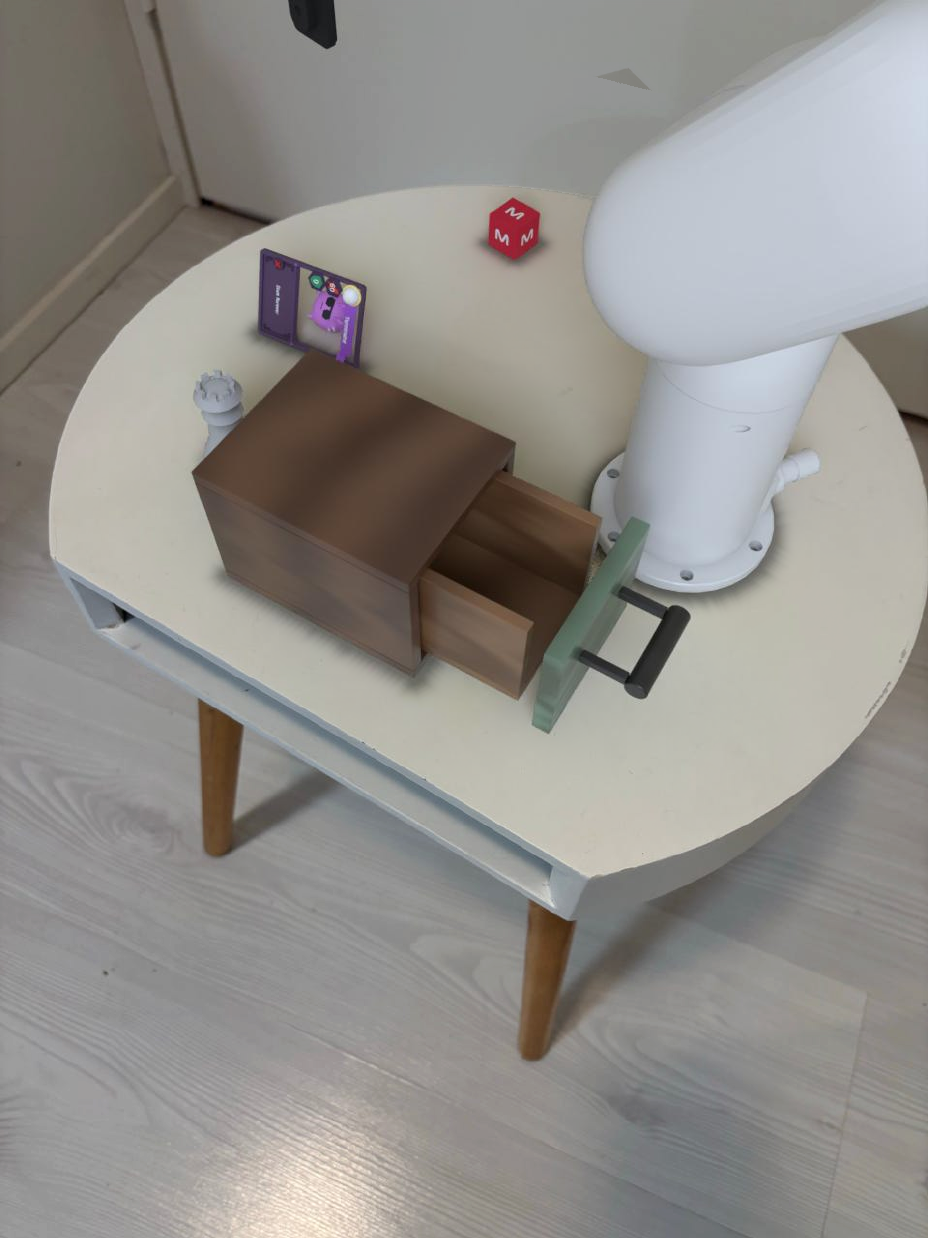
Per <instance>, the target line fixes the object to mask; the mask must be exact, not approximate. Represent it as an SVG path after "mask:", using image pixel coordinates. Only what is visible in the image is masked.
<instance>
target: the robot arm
mask: <svg viewBox="0 0 928 1238" xmlns="http://www.w3.org/2000/svg"><path fill="white" fill-rule="evenodd" d="M287 2H288V3H287V4H288V11H289V16H290V19H291V21H292V23H293V27H294V28H295V30H296V31H297V32H298V33H300V34H302V35H303V36H305V37H306V38H308V39H310V40H311V41H313V42H314V43H315V44H317V45H318V46H320V47H322V48H323V49H325V50H330V49H332V48H333V47H335V46H336V44H337V42H338V31H337V19H336V9H335V0H287ZM597 191H598V192H597V193H596V195H595V197H594V199H593V200H592V203H591V206H590V209H589V211H588V214H587V217H586V221H585V225H584V229H583V235H582V245H581V260H582V261H581V262H582V271H583V277H584V281H585V285H586V289H587V293H588V295H589V297H590V300H591V303H592V304H593V306H594V308H595V310H596V312H597V314H598V315H599V317H600V318H601V320H602V321H603V322H604V323H605V325H606V326H607V328H608V329H610V330H611V332H612V333H613V334H614V335H615V336H617V337H618V338H619V339H620V340H621V341H622V342H624V343H625V344H626V345H628V346H629V347H631V348H633V350H636V351H637V352H639V353H640V354H643V355H645V356H647V357H646V361H645V365H644V370H643V374H642V378H641V382H640V386H639V391H638V395H637V399H636V404H635V407H634V413H633V416H632V420H631V425H630V429H629V432H628V433H629V434H628V438H627V441H626V446H625V450H624V451H623V452H621V453H619V455H617V456H616V457H615V458H613V459H611V461H609V462H608V464H607V465H606V466H605V467H604V468H603V469H602V471H601V472H600V473H599V475H598V477H597V479H596V481H595V483H594V485H593V486H594V487H593V489H592V492H591V493H592V494H591V498H590V505H589V511H590V512H592V513H594V514H596V515H598V516H600V517H602V518H603V520H602V524H601V529H600V533H599V537H598V542H597V543H598V544H599V545H600V547H601V549H602V550H603V552H604V553H605V554H606V555H607V554H608V553H609V551H610V550H611V548H612V547H613V545H614V543H615V542H616V540H617V539H618V537H619V536H620V534H621V532H622V531H623V529H624V528H625V526H626V525H627V523H628V521H629V520H630V518H631V517H632V516H633V517H635V518H637V519H640V520H642V521H644V522H646V523H648V524H650V529H649V532H648V535H647V539H646V542H645V545H644V549H643V552H642V555H641V559H640V562H639V565H638V569H637V572H636V576H635V579H637V580H639V582H640V581H641V582H642V583H644V584H646V585H650V586H652V587H656V588H657V589H661V590H666V591H672V592H676V593H693V594H694V593H695V594H697V593H707V592H714V591H717V590H720V589H724V588H727V587H731V586H732V585H734V584H736V583H737V582H739V581H741V580H743V579H746V578H747V577H748V575H749V574H751V573H752V572H753V571H754V570H756V569H757V567H759V565H760V563H761V562H762V560H763V559H764V557H765V556H766V554H767V552H768V550H769V548H770V546H771V544H772V540H773V537H774V533H775V512H774V509H773V504H772V499H773V497H774V496H776V495H779V494H781V493H782V492H783V490H785V486H786V485H788V484H791V483H796V482H798V481H801V480H804V479H805V478H808V477H811V476H813V475H815V474H818V473H819V472H820V470H821V461H820V457H819V455H818V454H817V452H816V451H815V450H814V449H813V448H811V447H805V448H802V449H799V450H797V451H794V452H792V453H789V454H787V455H786V453H787V451H788V449H789V446H790V444H791V442H792V440H793V438H794V436H795V433H796V431H797V429H798V427H799V424H800V422H801V420H802V418H803V416H804V413H805V411H806V409H807V407H808V404H809V403H810V400H811V398H812V396H813V393H814V391H815V389H816V386H817V385H818V383H819V381H820V379H821V378H822V375H823V373H824V370H825V368H826V366H827V364H828V362H829V360H830V359H831V358H830V357H831V355H832V354H833V351H834V349H835V347H836V344H837V342H838V340H839V339H840V336H841V335H842V333H846V332H849V331H853V330H856V329H860V328H863V327H866V326H870V325H874V324H877V323H880V322H881V323H882V322H884V321H887V320H890V319H894V318H897V317H900V316H904V315H906V314H910V313H913V312H916V311H918V310H922V309H925V308H927V307H928V0H875V1H873V2H872V3H870V4H868V5H867V6H865V7H864V8H863V9H861V10H860V11H859V12H857V13H856V14H854V15H853V16H851V17H850V18H848V19H847V20H845V21H844V22H842V23H841V24H840V25H838V26H837V27H836V28H834V29H832V30H831V31H830V32H828V33H827V34H825V35H819V36H815V37H811V38H807V39H803V40H801V41H799V42H796V43H794V44H793V43H792V44H791V45H789V46H786V47H784V48H782V49H780V50H778V51H776V52H774V53H772V54H770V55H769V56H767V57H765V58H763V59H762V60H760V61H758V62H757V63H756V64H754V65H752V66H751V67H749V68H748V69H747V70H745V71H744V72H742V73H741V74H739V75H738V76H736V77H735V78H733V79H732V80H731V81H730V82H728V83H727V84H725V85H723V86H722V87H721V88H719V89H718V90H716V91H715V92H714V93H712V94H711V95H709V96H708V97H706V98H705V99H704V100H703V101H702V102H701V103H700V104H698V105H697V106H696V107H695V108H693V109H692V110H691V111H689V112H688V113H687V114H685V115H684V116H682V117H681V118H679V119H678V120H677V121H675V122H674V123H672V124H671V125H669V126H668V127H666V128H665V129H664V130H662V131H661V132H659V133H658V134H657V135H655V136H654V137H652V138H650V139H649V140H648V141H647V142H646V143H644V144H643V145H641V146H640V147H638V148H637V149H636V150H634V151H633V152H632V153H631V154H629V155H628V156H626V157H625V158H624V159H623V160H622V161H621V162H620V163H618V165H617V166H616V167H615V168H614V169H613V170H612V171H611V172H610V173H609V175H608V176H607V177H606V179H604V181H603V183H602V185H601V186H600V188H599V190H597Z"/></svg>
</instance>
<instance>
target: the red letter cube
mask: <svg viewBox="0 0 928 1238" xmlns="http://www.w3.org/2000/svg"><path fill="white" fill-rule="evenodd" d="M488 217H489V218H488V239H487V240H488V241H487V244H488V245H489V246H491V247H492V248H494V249H496V250H497V251H499V252H501V253H502V254H503V255H505V256H507V257H509V258H511V259H512V260H514V261H515V260H517V259H518V258H520V257H521V256H523V255H524V254H525V253H526V252H527V251H529V250H530V249H531V248H533V247H534V246H536V245H537V244H538V241H539V230H540V221H541V220H540V219H541V212H540V211H538V210H536V209H535V208H533V207H531V206H529V205H527V204H526V203H524V202H522V201H521V200H519V199H518V198H516V197H514V196H513V197H511V198H510V199H508V200H507V201H505V202H504V203H503V204H501V205H500V206H498V207H497V208H495V209H494V210H492V211H491V212H490V213H489V216H488Z"/></svg>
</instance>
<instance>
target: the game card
mask: <svg viewBox="0 0 928 1238" xmlns="http://www.w3.org/2000/svg"><path fill="white" fill-rule="evenodd" d="M301 269H303V270H307V271H309V272H311V273H310V274H309V276H308V277H307V279H308V282H309V285H310V288H311V289H313V290H314V291H316V294H317V296H316V297H315V300H314V301H313V304H312V312H311V313H308V314H307V315H306V317H308V318H309V319H310V320H313V321H314V323H316V325H317V326H318V327H319V328H320V329H322V330H323V331H325V332H327V333H331V334H332V333H340V332H341V337H340V338H341V339H340V345H339V351H338V352H337V354H336V355H334V354H331V353H328V352H326V351H324V350H321V349H318V348H316V347H313V346H311V345H308V344H305V343H304V342H300V341H298V340H297V332H298V331H297V330H298V314H299V299H300V298H299V297H300V283H301V282H300V278H301ZM258 273H259V274H258V308H257V311H258V312H257V332H258V333H259V334H260V335H262V336H265V337H267V338H270V339H272V340H275V341H278V342H280V343H282V344H284V345H287V346H291V347H292V348H295V349H297V350H300V351H303V352H304V353H305V352H306V353H307V352H308V351H309V350H310V349H311V348H312V349H314V350H317V351H319V352H321V353H323V354H325V355H328V356H330V357H332V358H334V359H336V360H338V361H341V362H343V363H345V364H347V365H349V366H352V367H354V368H356V369H358V370H359V366H360V359H361V350H362V349H361V348H362V340H363V339H362V338H363V329H364V322H365V321H364V320H365V311H366V300H367V292H368V287H367V285H365V284H363V283H361V282H359V281H355V280H353V279H350V278H347V277H344V276H342V275H339V274H336V273H334V272H331V271H328V270H325V269H323V268H320V267H318V266H316V265H312V264H310V263H307V262H304V261H302V260H299V259H296V258H293V257H290V256H288V255H286V254H283V253H280V252H277V251H276V250H272V249H270V248H266V247H263V248H261V249H260V251H259V272H258ZM325 278H327V279H325ZM341 283H342V284H344V285H345V286H344V287H342V284H341ZM324 288H325V290H324ZM357 309H358V311H357ZM356 315H357V319H356ZM355 324H356V328H355ZM355 329H356V330H355ZM354 332H355V340H354V349H353V358H352V359H353V360H352V362H351V361H349V360H346V358H349V359H351V354H352V346H353V339H354Z"/></svg>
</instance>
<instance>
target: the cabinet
mask: <svg viewBox="0 0 928 1238" xmlns="http://www.w3.org/2000/svg"><path fill="white" fill-rule="evenodd" d="M516 447H517V442H516V441H515V440H512V439H511V438H508V437H506V436H504V435H502V434H499V433H498V432H495V431H494V430H491V429H488V428H487V427H484V426H482V425H480V424H478V423H476V422H473V421H471V420H469V419H467V418H465V417H463V416H460V415H458V414H456V413H454V412H452V411H450V410H447V409H445V408H443V407H441V406H438V405H436V404H435V403H432V402H430V401H427V400H426V399H423V398H421V397H419V396H416V395H414V394H412V393H411V392H408V391H406V390H404V389H402V388H399V387H397V386H396V385H393V384H391V383H389V382H386V381H384V380H382V379H381V378H377V377H375V376H373V375H371V374H369V373H366V372H365V371H362V370H360V369H359V368H358V369H356V368H354V367H352V366H349V365H347V364H345V363H343V362H341V361H338V360H336V359H334V358H332V357H330V356H328V355H325V354H323V353H321V352H319V351H317V350H314V349H312V348H311V349H310V350H309V351H308V352H306V353H305V354H304V355H303V356H302V357H301V358H300V359H299V360H298V361H297V362H296V363H295V364H294V365H293V366H292V367H291V368H290V369H289V371H287V372H286V374H284V375H283V376H282V377H281V378H280V380H279V381H278V382H276V384H275V385H274V386H273V387H272V388H271V389H270V390H269V391H268V392H267V393H266V394H265V395H264V396H263V397H262V398H261V399H260V400H259V401H258V402H257V403H256V404H255V406H253V408H252V409H251V410H250V411H248V413H247V414H246V415H245V416H243V419H242V420H241V421H240V422H239V423H238V424H237V425H236V426H235V427H234V428H233V429H232V431H231V432H230V433H229V434H228V435H227V436H226V437H225V438H224V439H223V440H222V441H221V442H220V443H219V444H218V445H217V446H216V447H215V448H214V449H213V450H212V451H211V452H210V453H209V454H208V455H207V456H206V457H205V458H204V457H203V459H202V460H201V461H200V462H199V463H198V464H197V465H196V467H195V468H194V469H192V471H190V472H191V475H192V479H193V481H194V484H195V487H196V490H197V493H198V496H199V499H200V501H201V505H202V507H203V510H204V512H205V516H206V518H207V521H208V524H209V527H210V530H211V532H212V535H213V538H214V541H215V544H216V547H217V550H218V553H219V556H220V558H221V561H222V564H223V566H224V569H225V572H226V575H227V577H229V578H230V579H232V580H234V581H236V582H238V583H240V584H241V585H244V587H247V588H249V589H251V590H252V591H254V592H256V593H258V594H260V595H262V596H263V597H265V598H267V599H269V600H271V601H273V602H275V603H277V604H278V605H280V606H281V607H284V608H286V609H287V610H289V611H291V612H293V613H295V614H296V615H298V616H300V617H301V618H304V619H305V620H307V621H309V622H311V623H312V624H315V625H316V626H318V627H320V628H321V629H324V630H326V631H327V632H329V633H331V634H333V635H335V636H336V637H338V638H340V639H342V640H344V641H345V642H347V643H349V644H350V645H353V646H354V647H356V648H359V649H360V650H362V651H364V652H366V653H367V654H369V655H371V656H373V657H375V658H376V659H379V660H380V661H382V662H384V663H386V664H387V665H389V666H391V667H393V668H395V669H396V670H398V671H400V672H402V673H404V674H405V675H407V676H409V677H411V678H413V679H415V678H416V677H417V676H418V674H419V672H420V671H421V670H422V668H423V667H424V665H425V664H426V663H427V661H428V660H429V658H430V657H431V656H432V655H431V654H429V653H427V652H426V651H424V650H422V649H421V645H420V625H419V605H418V585H417V582H418V581H419V579H420V578H421V577H422V575H423V574H424V573H425V571H426V570H427V569H428V567H429V566H430V565H431V563H432V562H433V561H434V559H435V558H436V557H437V555H438V554H439V553H440V551H441V550H442V549H443V547H444V546H445V545H446V543H447V542H448V541H449V539H450V538H451V537H452V535H453V534H454V533H455V531H456V530H457V529H458V527H459V526H460V525H461V523H462V522H463V521H464V519H465V518H466V517H467V515H468V514H469V513H470V511H471V510H472V509H473V507H474V506H475V505H476V503H477V502H478V501H479V499H480V498H481V497H482V495H483V494H484V493H485V491H486V490H487V489H488V487H489V486H490V485H491V483H492V482H493V481H494V479H495V478H496V477H497V475H498V474H499V473H500V471H501V470H502V471H504V472H507V473H509V474H511V475H513V476H514V470H515V469H514V468H515V457H516Z"/></svg>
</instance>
